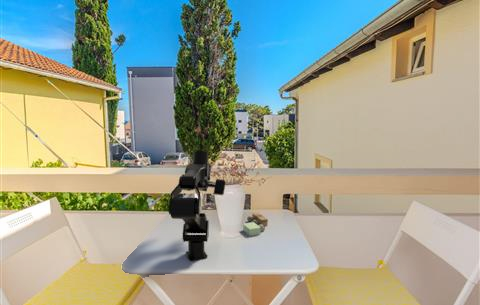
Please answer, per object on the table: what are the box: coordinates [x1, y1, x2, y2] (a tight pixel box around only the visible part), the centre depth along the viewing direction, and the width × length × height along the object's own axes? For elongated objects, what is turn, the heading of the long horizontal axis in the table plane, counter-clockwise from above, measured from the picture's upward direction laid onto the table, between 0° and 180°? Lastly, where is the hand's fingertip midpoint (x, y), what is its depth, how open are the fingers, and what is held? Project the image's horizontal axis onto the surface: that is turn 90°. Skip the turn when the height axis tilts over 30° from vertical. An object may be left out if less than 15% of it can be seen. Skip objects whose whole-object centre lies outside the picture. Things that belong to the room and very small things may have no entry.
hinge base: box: [247, 212, 269, 227], centre depth 134 cm, size 10×6×3 cm, turn 23°
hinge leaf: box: [242, 222, 266, 237], centre depth 124 cm, size 7×8×3 cm
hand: (204, 189), depth 126 cm, fingers open, 9 cm apart
